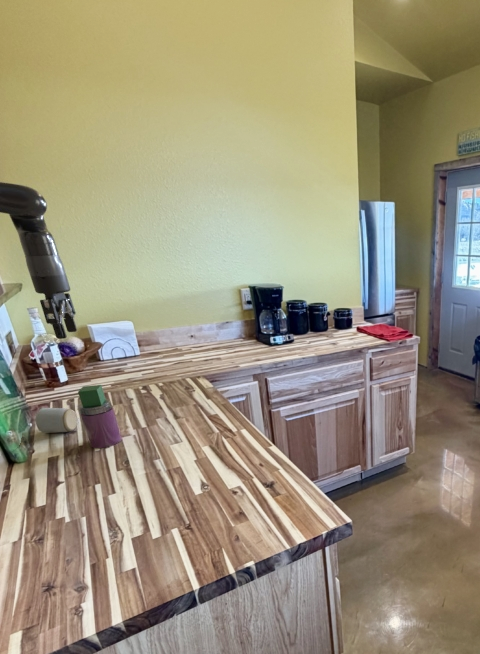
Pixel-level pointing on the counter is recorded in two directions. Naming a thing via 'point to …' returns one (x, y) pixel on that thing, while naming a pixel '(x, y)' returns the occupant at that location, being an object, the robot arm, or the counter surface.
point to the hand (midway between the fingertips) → (67, 335)
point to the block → (91, 395)
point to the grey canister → (56, 420)
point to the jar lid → (95, 408)
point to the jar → (102, 429)
